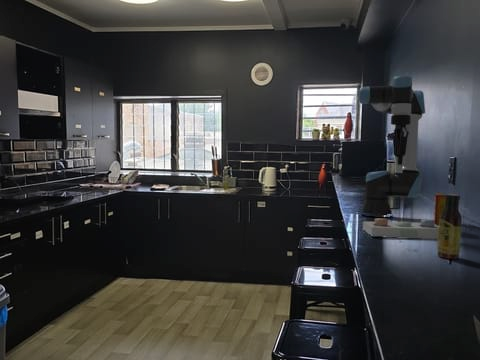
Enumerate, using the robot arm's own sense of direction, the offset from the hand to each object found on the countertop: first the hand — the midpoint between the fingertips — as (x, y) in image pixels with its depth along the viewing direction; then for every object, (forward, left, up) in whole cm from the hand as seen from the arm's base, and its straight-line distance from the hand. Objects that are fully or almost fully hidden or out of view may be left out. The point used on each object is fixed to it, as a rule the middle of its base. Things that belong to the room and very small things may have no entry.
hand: (398, 172), depth 180 cm
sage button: (+10, 0, -22) cm, 24 cm away
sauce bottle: (+45, +2, -25) cm, 51 cm away
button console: (+8, 0, -24) cm, 26 cm away
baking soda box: (-3, +20, -25) cm, 32 cm away
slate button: (+10, +9, -21) cm, 25 cm away
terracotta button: (+10, -9, -21) cm, 25 cm away
